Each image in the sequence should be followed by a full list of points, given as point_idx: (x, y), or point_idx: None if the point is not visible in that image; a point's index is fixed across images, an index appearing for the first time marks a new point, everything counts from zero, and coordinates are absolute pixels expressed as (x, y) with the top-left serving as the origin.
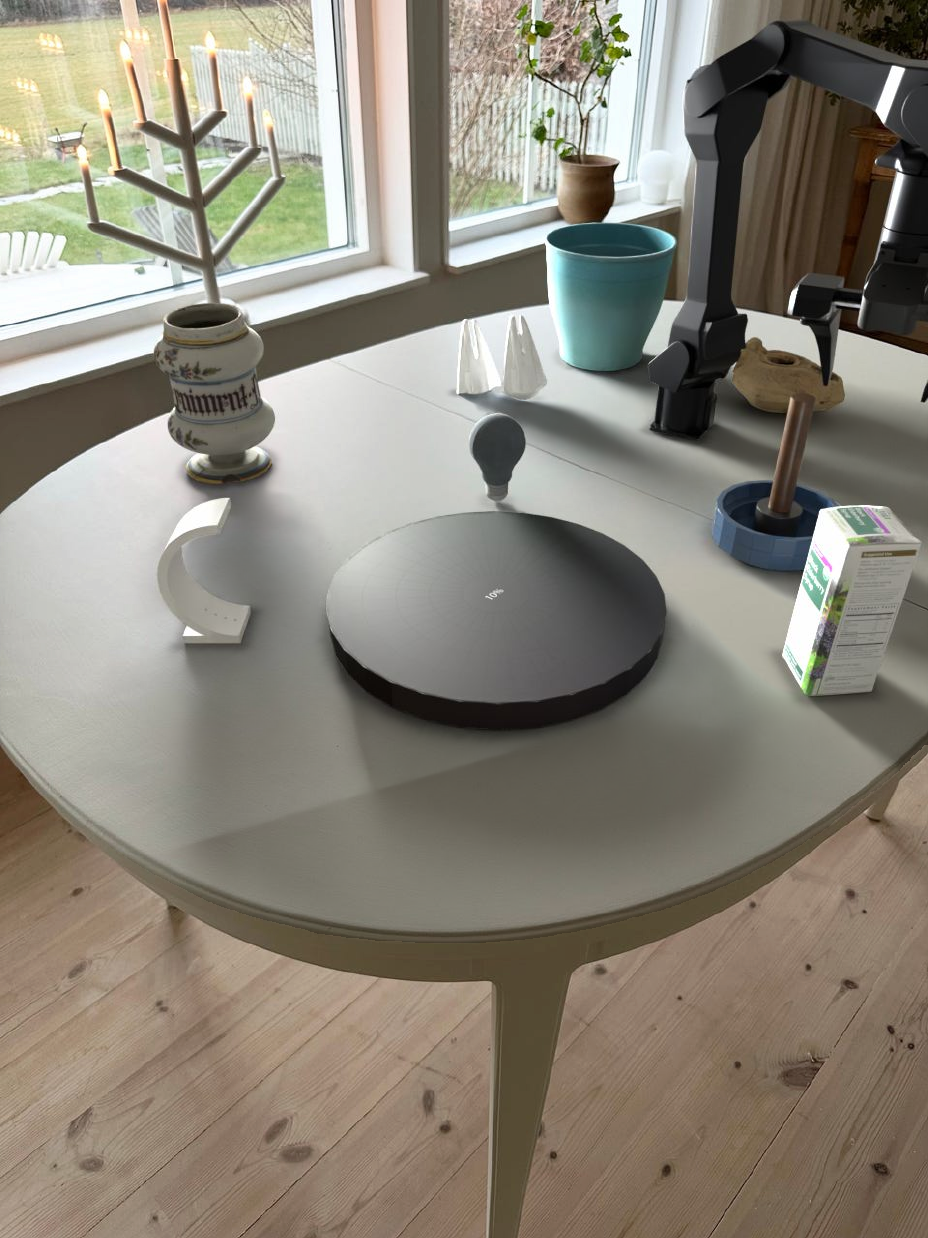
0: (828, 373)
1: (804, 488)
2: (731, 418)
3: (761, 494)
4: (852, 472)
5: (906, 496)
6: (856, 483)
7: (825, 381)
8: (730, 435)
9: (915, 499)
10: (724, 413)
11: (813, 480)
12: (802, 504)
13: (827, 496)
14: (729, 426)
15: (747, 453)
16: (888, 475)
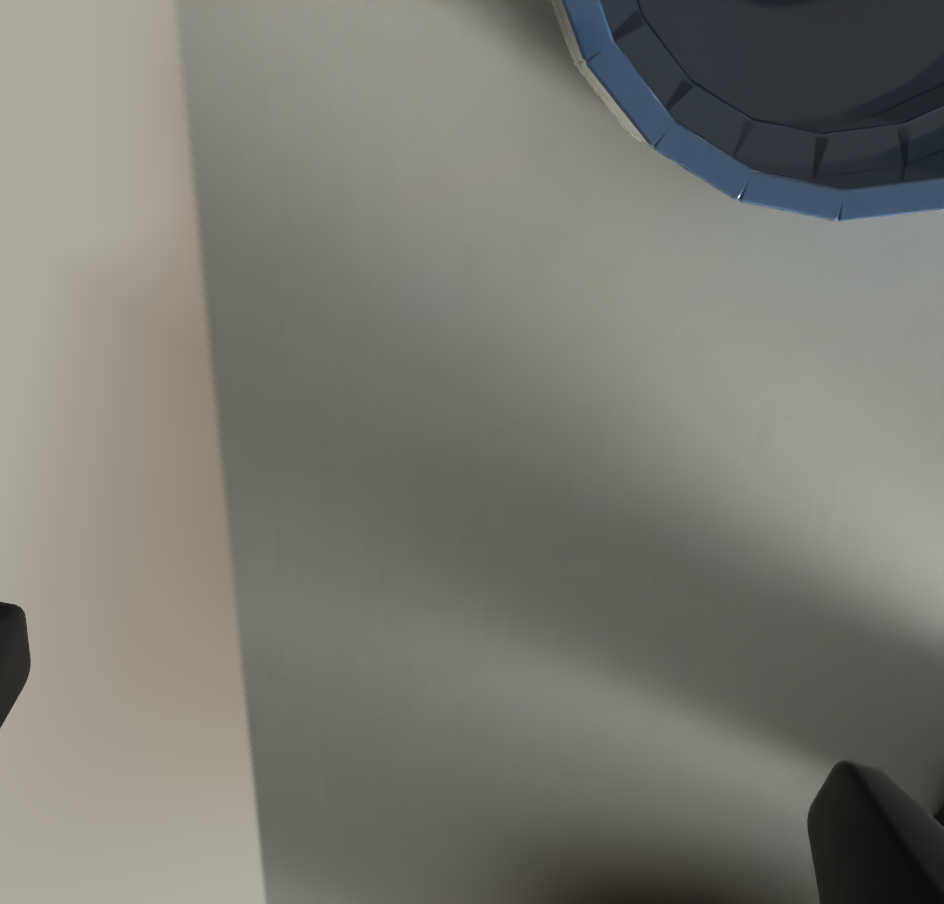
0: (927, 866)
1: (735, 160)
2: None
3: (927, 158)
4: (452, 606)
5: (263, 482)
6: (438, 534)
7: (890, 793)
8: None
9: (232, 468)
10: None
11: (594, 521)
12: (710, 134)
13: (617, 89)
14: None
15: (825, 662)
16: (332, 611)
